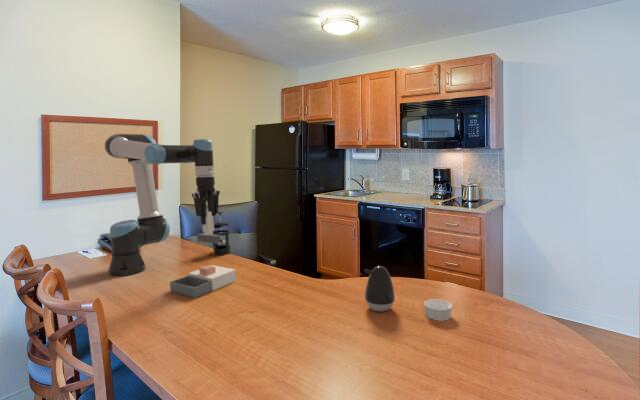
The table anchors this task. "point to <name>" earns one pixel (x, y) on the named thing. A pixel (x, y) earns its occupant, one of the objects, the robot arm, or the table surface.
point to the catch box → (191, 286)
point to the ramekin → (438, 309)
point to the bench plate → (217, 276)
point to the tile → (207, 270)
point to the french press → (221, 248)
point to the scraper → (209, 235)
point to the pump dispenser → (379, 289)
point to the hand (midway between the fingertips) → (208, 231)
